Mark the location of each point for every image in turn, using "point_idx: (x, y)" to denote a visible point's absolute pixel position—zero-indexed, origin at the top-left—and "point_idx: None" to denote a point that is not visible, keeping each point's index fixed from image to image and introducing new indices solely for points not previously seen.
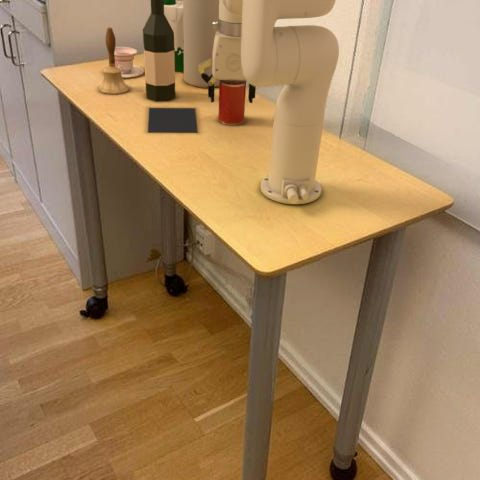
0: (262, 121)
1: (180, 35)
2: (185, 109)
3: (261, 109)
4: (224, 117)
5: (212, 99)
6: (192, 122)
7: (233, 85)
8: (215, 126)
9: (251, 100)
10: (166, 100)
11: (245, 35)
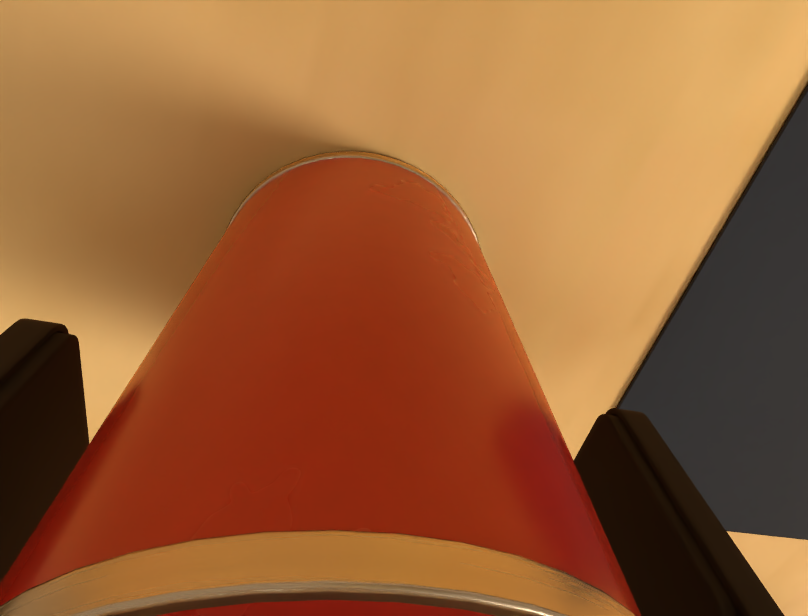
0: (14, 202)
1: None
2: None
3: None
4: (467, 228)
5: (648, 432)
6: (725, 288)
7: (424, 580)
8: (563, 168)
9: (20, 338)
10: None
11: None
